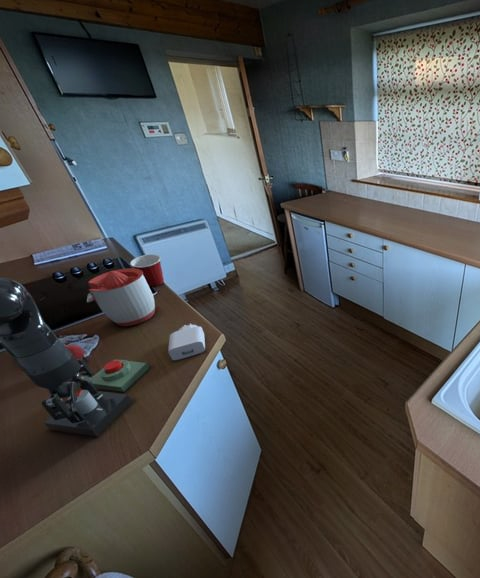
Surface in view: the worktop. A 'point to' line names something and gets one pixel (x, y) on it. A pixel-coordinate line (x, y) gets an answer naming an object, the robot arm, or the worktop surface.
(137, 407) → the worktop surface
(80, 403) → the burner knob
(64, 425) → the panel
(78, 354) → the red round fruit
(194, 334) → the charger
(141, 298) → the citrus juicer
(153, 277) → the plastic cup
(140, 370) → the block
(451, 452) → the worktop surface
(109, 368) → the button
